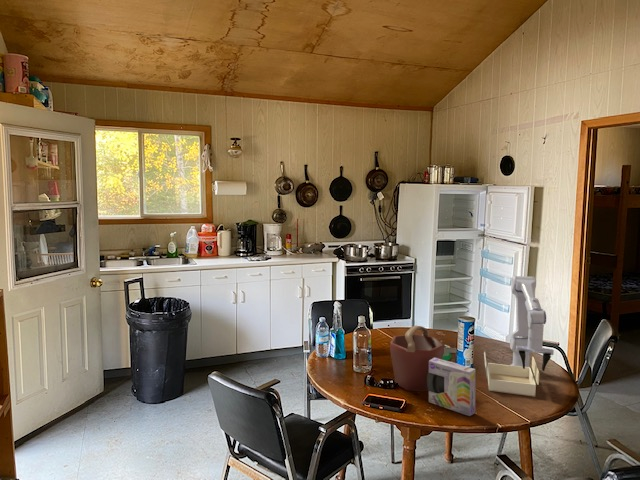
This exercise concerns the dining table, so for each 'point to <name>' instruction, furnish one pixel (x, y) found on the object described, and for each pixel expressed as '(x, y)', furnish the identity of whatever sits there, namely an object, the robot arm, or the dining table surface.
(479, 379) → the dining table surface
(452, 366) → the cake pan box
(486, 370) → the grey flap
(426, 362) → the bucket
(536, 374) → the cream flap
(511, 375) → the carton
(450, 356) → the food container
